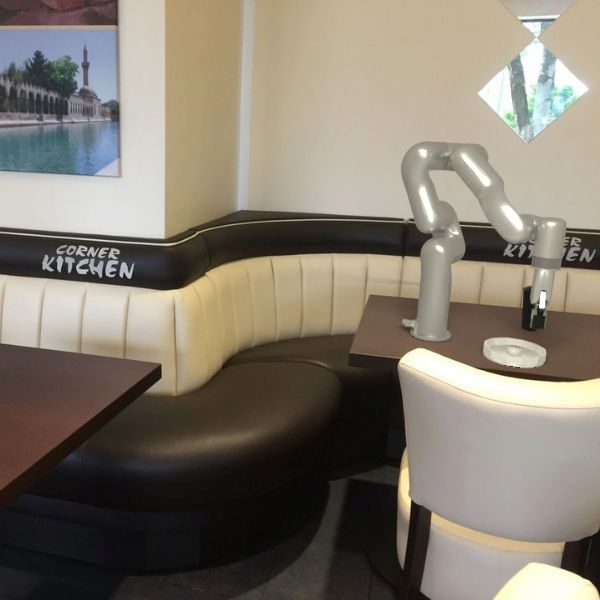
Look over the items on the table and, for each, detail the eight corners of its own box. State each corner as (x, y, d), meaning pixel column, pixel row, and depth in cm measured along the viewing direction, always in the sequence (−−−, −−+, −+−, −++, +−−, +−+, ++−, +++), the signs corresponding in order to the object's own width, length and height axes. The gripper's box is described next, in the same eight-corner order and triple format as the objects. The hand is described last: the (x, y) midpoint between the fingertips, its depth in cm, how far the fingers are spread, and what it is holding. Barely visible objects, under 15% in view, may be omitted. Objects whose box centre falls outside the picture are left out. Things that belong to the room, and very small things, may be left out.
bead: (530, 328, 168) (532, 311, 167) (529, 324, 172) (531, 307, 171) (545, 330, 167) (547, 313, 166) (544, 326, 171) (546, 309, 169)
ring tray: (481, 362, 169) (482, 352, 168) (484, 343, 184) (485, 334, 183) (545, 372, 164) (547, 361, 163) (543, 352, 179) (544, 342, 178)
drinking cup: (520, 323, 206) (529, 267, 200) (543, 328, 202) (552, 270, 196) (514, 329, 200) (522, 270, 194) (537, 334, 196) (547, 274, 190)
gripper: (530, 256, 173) (522, 316, 178) (532, 267, 158) (523, 333, 163) (558, 258, 171) (549, 319, 176) (563, 270, 156) (553, 336, 161)
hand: (537, 325), depth 169 cm, fingers closed on bead, 4 cm apart
